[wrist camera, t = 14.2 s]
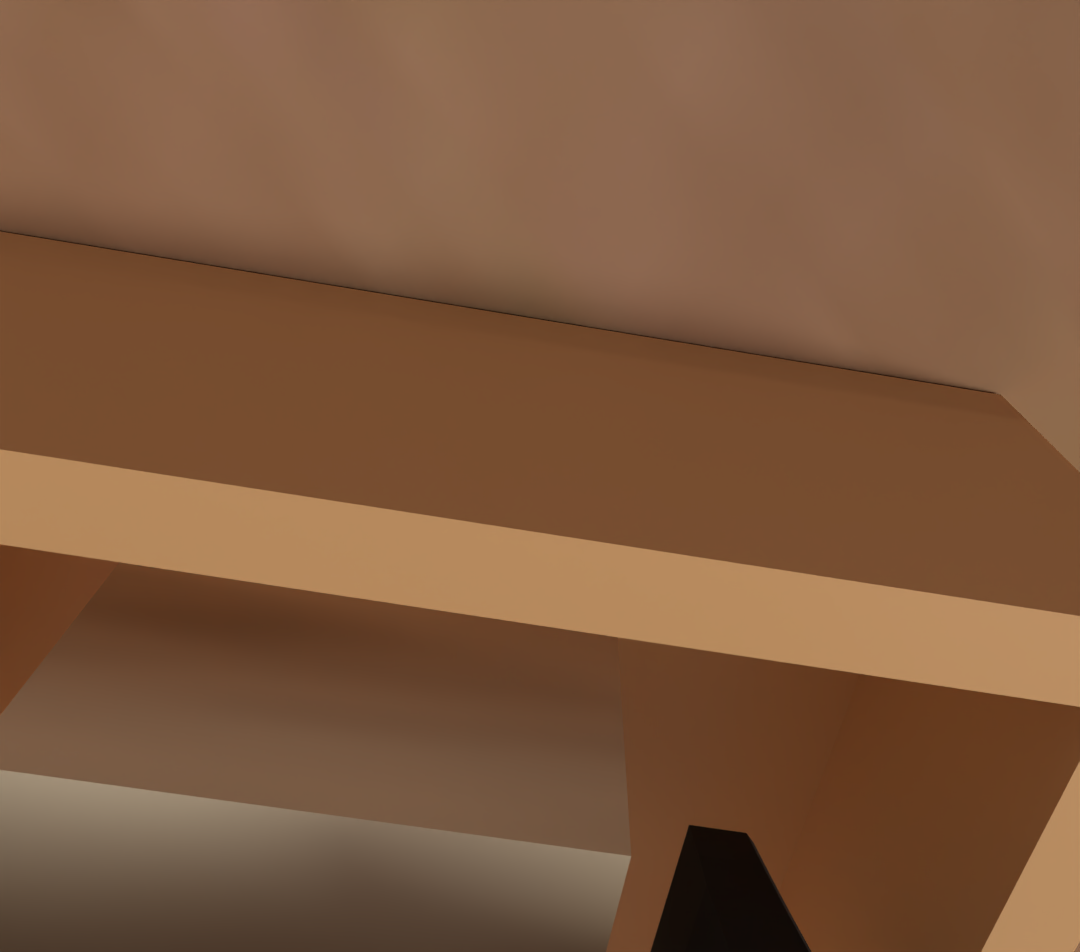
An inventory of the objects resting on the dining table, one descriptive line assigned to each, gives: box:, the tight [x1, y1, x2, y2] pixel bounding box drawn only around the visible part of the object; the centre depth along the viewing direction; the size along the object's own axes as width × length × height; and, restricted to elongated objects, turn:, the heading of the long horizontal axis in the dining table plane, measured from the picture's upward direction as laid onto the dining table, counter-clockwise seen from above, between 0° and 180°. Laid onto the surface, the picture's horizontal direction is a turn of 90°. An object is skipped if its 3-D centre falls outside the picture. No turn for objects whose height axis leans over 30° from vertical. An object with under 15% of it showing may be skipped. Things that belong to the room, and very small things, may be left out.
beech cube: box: [0, 562, 631, 952], centre depth 11 cm, size 5×5×5 cm
